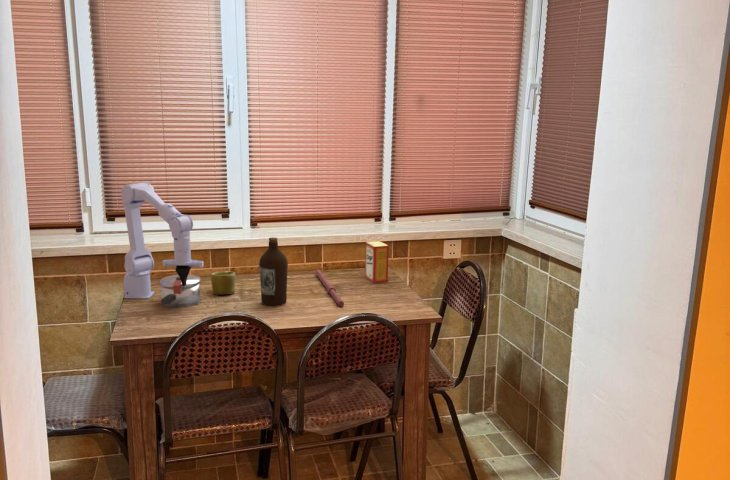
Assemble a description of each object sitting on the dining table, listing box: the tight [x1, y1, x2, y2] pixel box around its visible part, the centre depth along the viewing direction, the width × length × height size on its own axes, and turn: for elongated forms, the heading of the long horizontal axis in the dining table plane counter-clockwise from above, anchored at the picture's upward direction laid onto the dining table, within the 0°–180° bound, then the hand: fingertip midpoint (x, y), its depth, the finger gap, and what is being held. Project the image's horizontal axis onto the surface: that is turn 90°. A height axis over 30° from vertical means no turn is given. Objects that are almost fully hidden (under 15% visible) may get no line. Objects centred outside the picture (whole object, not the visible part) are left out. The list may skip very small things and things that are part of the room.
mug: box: [210, 270, 236, 296], centre depth 256 cm, size 12×10×10 cm
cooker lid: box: [159, 274, 201, 294], centre depth 239 cm, size 21×15×3 cm
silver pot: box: [160, 282, 201, 308], centre depth 240 cm, size 20×14×7 cm
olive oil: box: [258, 236, 289, 307], centre depth 242 cm, size 11×11×25 cm
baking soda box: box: [364, 240, 389, 284], centre depth 276 cm, size 10×6×16 cm
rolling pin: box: [315, 269, 345, 308], centre depth 261 cm, size 45×3×3 cm, turn 15°
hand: (184, 285), depth 234 cm, fingers closed
